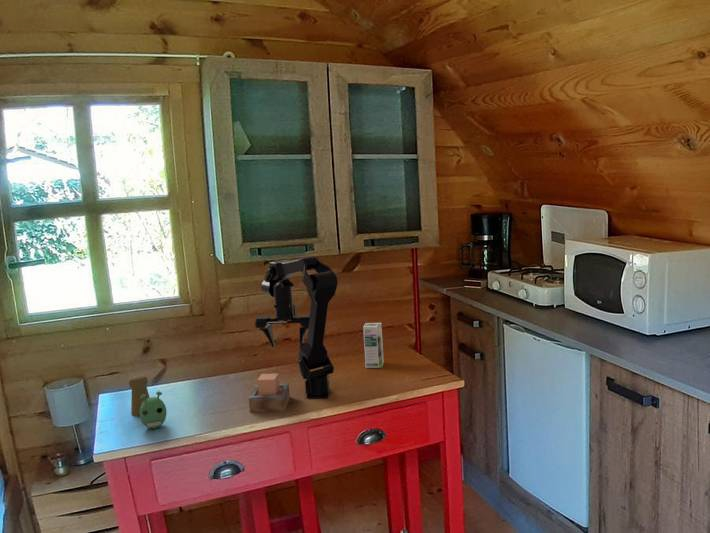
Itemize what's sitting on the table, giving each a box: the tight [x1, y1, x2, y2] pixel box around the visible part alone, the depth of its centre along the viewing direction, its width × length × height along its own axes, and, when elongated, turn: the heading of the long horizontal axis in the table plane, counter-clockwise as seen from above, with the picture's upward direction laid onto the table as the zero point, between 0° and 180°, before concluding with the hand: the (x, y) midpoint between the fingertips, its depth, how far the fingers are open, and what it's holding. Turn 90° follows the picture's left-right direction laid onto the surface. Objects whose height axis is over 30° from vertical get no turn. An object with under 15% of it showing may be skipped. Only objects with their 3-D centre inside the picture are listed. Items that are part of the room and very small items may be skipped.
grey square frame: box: [248, 383, 291, 413], centre depth 175 cm, size 10×10×5 cm
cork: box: [128, 374, 151, 417], centre depth 175 cm, size 6×6×11 cm
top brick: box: [256, 373, 280, 396], centre depth 174 cm, size 5×5×5 cm
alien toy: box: [139, 390, 168, 429], centre depth 163 cm, size 7×8×10 cm
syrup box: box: [362, 322, 385, 369], centre depth 202 cm, size 6×6×14 cm
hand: (287, 346), depth 194 cm, fingers open, 9 cm apart
